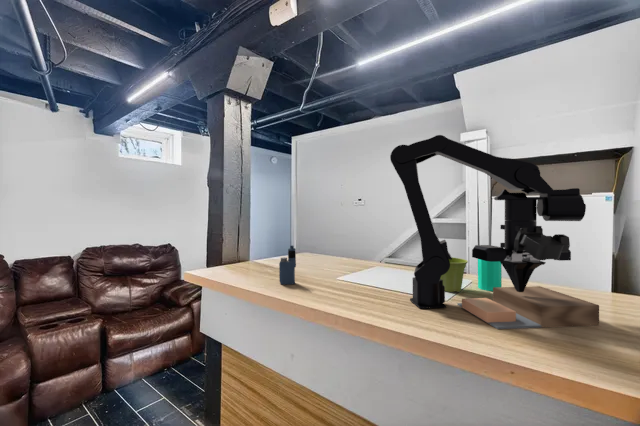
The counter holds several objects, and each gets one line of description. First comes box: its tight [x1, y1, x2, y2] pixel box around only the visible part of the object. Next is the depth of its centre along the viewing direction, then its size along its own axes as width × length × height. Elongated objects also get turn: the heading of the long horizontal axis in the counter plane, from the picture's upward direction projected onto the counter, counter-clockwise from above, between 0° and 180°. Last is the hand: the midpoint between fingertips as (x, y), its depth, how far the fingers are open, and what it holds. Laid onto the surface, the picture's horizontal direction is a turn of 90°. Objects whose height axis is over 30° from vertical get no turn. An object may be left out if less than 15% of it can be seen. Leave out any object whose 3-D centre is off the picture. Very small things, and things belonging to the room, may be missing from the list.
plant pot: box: [440, 256, 469, 293], centre depth 82 cm, size 9×9×9 cm
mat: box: [456, 302, 543, 330], centre depth 62 cm, size 9×14×1 cm, turn 4°
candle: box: [477, 259, 503, 292], centre depth 83 cm, size 6×6×12 cm
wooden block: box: [492, 285, 600, 328], centre depth 63 cm, size 12×14×4 cm
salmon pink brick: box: [461, 297, 516, 324], centre depth 62 cm, size 6×9×2 cm, turn 4°
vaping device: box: [278, 245, 297, 285], centre depth 90 cm, size 3×5×12 cm, turn 89°
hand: (519, 291), depth 62 cm, fingers closed
